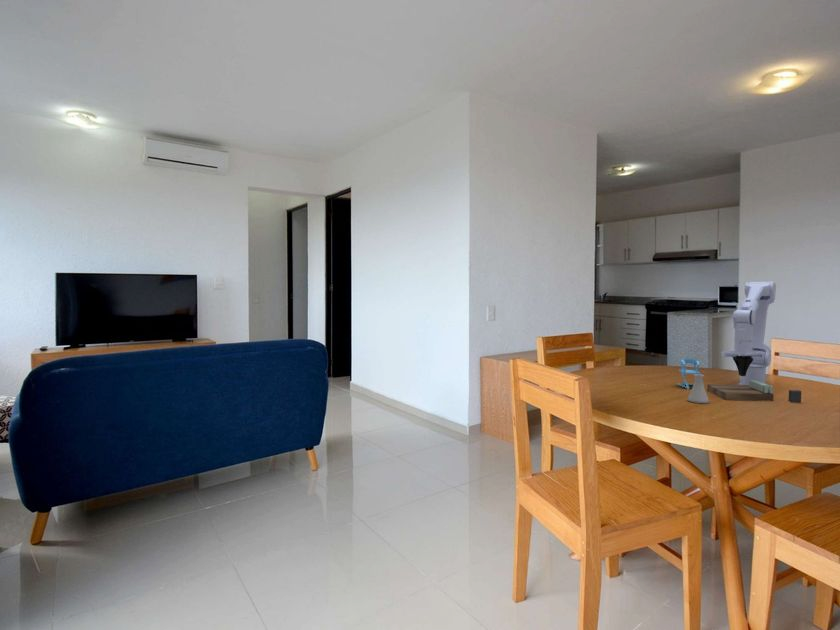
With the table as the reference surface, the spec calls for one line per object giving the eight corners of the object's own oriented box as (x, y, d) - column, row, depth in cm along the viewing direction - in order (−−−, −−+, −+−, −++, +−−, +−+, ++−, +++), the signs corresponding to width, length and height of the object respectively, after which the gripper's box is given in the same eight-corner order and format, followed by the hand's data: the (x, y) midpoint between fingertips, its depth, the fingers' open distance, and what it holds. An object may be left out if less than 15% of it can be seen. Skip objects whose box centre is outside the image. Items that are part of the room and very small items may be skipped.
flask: (712, 404, 173) (713, 377, 173) (691, 403, 175) (691, 376, 174) (705, 399, 180) (705, 373, 180) (684, 398, 182) (684, 372, 181)
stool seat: (707, 390, 195) (707, 384, 195) (750, 391, 192) (750, 384, 192) (726, 399, 179) (726, 393, 179) (773, 400, 177) (773, 394, 176)
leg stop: (788, 401, 176) (788, 389, 176) (797, 401, 175) (797, 390, 175) (791, 402, 174) (792, 391, 174) (801, 402, 173) (801, 391, 173)
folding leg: (772, 393, 177) (773, 386, 176) (765, 393, 177) (765, 386, 177) (756, 386, 188) (756, 380, 187) (749, 386, 188) (749, 380, 188)
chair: (681, 389, 198) (681, 360, 197) (676, 385, 206) (677, 357, 205) (702, 390, 195) (703, 361, 194) (697, 385, 203) (697, 357, 202)
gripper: (727, 341, 181) (726, 377, 182) (770, 342, 179) (768, 377, 180) (719, 339, 188) (718, 373, 189) (759, 339, 186) (758, 374, 187)
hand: (742, 375), depth 185 cm, fingers closed
